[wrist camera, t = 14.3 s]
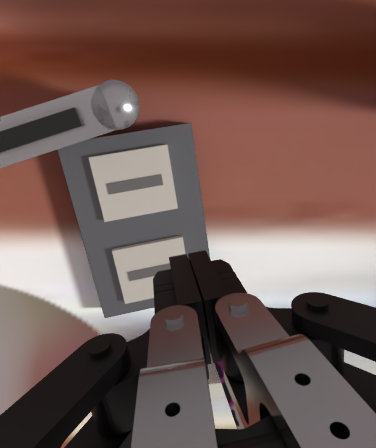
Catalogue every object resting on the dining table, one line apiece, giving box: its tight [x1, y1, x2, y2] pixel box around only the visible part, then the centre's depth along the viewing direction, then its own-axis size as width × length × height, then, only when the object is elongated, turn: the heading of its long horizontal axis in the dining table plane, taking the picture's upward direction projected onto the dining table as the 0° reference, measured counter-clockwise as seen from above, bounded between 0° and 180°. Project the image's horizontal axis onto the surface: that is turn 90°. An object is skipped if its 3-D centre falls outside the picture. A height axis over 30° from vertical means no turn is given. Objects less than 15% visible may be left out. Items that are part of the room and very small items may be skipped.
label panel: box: [57, 123, 210, 318], centre depth 31 cm, size 12×18×3 cm, turn 9°
